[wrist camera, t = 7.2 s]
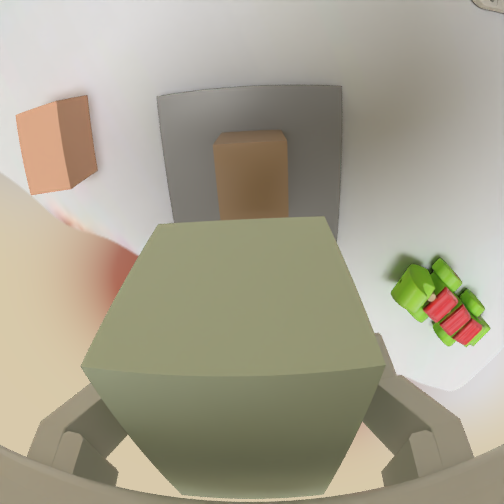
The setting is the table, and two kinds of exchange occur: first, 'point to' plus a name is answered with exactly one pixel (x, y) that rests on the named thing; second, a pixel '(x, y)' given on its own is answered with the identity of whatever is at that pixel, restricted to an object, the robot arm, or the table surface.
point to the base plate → (248, 113)
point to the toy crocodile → (441, 303)
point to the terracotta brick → (57, 145)
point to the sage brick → (239, 357)
